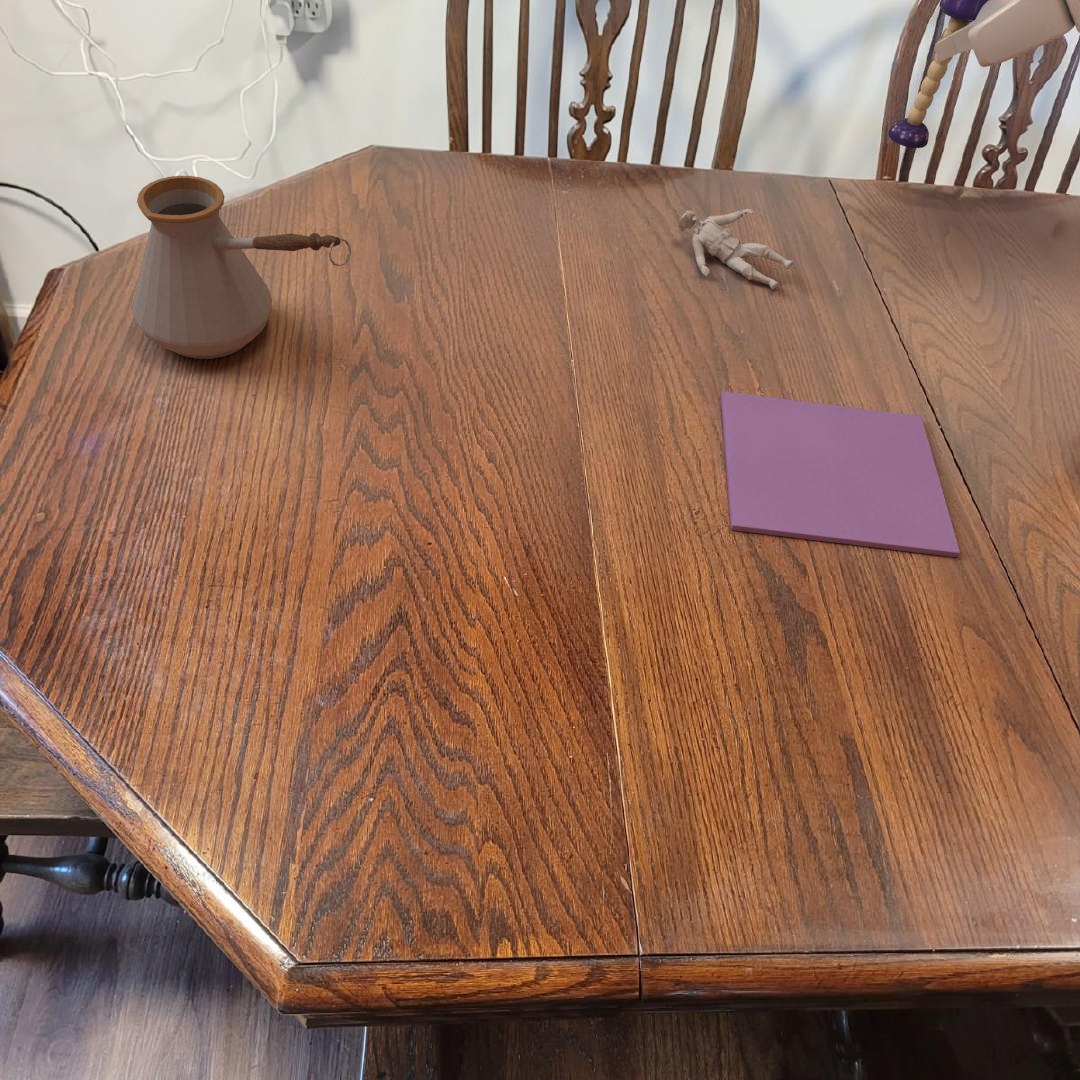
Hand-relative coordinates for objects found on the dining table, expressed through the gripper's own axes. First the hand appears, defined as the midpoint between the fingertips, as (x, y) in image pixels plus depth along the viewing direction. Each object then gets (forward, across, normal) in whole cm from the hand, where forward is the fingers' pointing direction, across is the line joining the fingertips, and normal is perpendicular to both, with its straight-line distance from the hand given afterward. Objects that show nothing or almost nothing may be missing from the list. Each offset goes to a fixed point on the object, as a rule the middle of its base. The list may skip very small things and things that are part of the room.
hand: (940, 46), depth 93 cm
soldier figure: (+21, +19, +6) cm, 29 cm away
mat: (+9, +43, +18) cm, 48 cm away
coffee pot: (+43, +57, -16) cm, 73 cm away
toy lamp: (+6, 0, +7) cm, 10 cm away
